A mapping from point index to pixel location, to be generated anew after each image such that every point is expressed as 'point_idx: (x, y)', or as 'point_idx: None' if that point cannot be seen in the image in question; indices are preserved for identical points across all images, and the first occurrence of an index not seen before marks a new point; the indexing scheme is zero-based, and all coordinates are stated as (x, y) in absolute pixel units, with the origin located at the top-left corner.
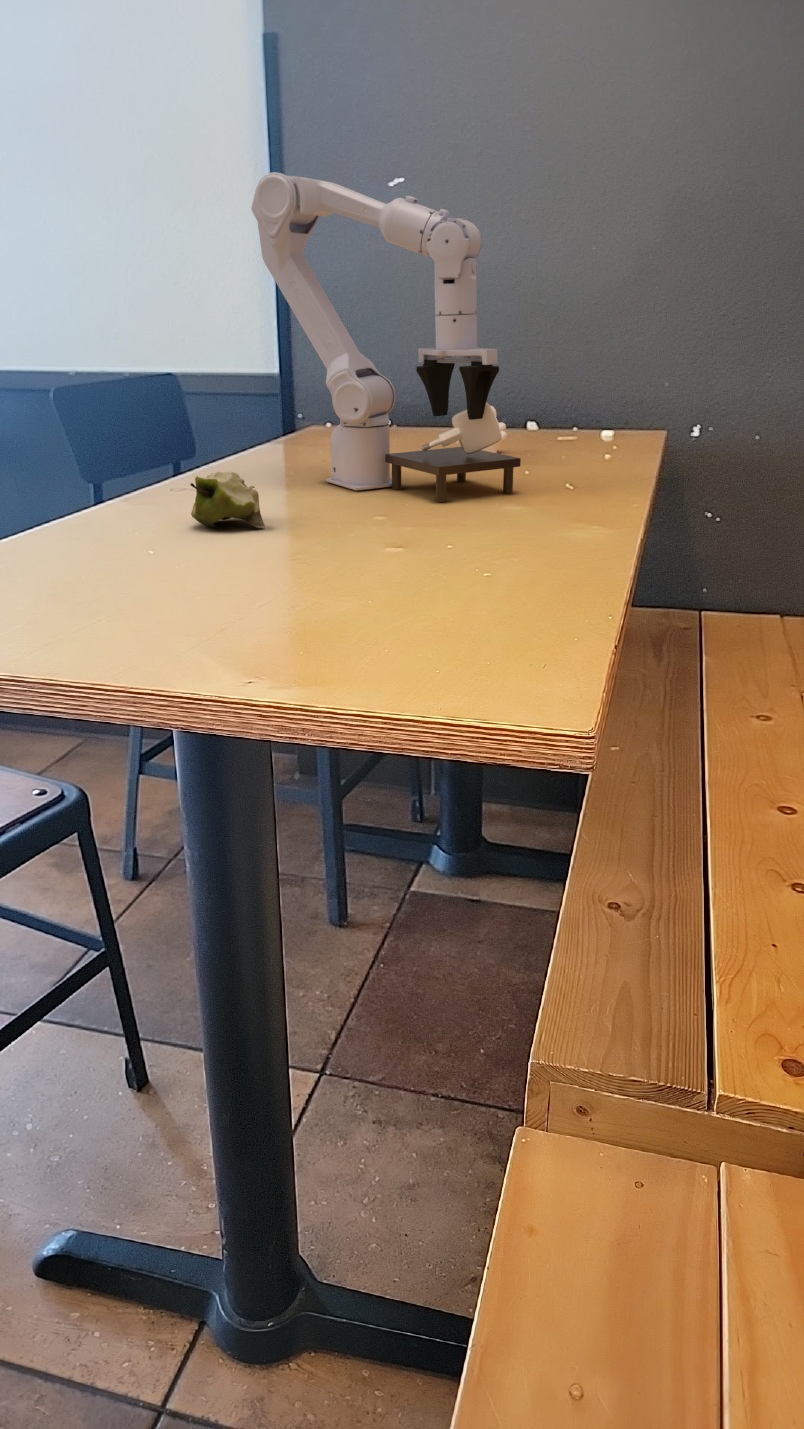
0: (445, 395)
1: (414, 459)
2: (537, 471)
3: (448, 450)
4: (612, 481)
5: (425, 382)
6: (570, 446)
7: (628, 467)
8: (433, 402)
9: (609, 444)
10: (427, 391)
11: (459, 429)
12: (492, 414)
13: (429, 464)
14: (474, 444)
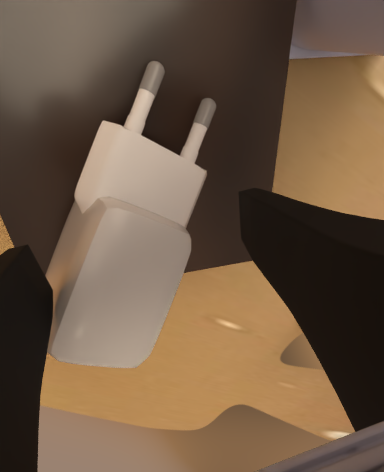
0: (280, 282)
1: (134, 11)
2: (227, 337)
3: (234, 204)
4: (102, 387)
5: (373, 229)
6: (333, 404)
7: (185, 419)
8: (266, 205)
9: (312, 431)
10: (332, 214)
11: (83, 204)
12: None
13: None
14: (66, 222)
